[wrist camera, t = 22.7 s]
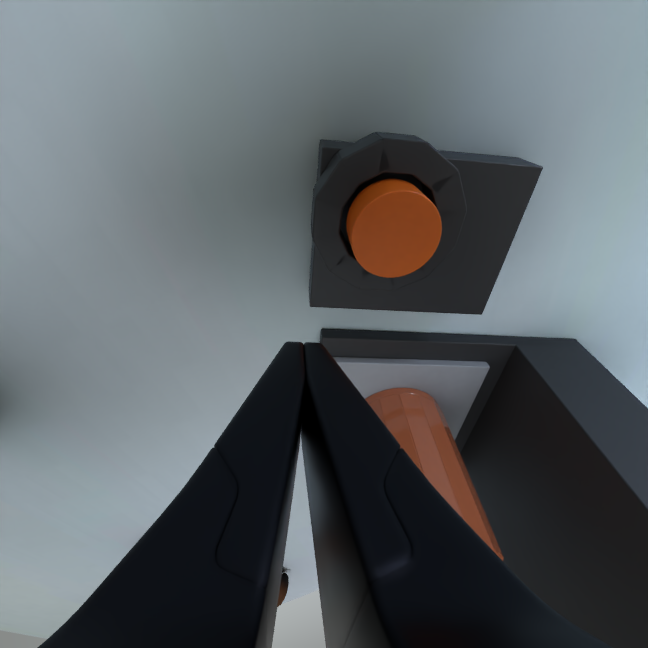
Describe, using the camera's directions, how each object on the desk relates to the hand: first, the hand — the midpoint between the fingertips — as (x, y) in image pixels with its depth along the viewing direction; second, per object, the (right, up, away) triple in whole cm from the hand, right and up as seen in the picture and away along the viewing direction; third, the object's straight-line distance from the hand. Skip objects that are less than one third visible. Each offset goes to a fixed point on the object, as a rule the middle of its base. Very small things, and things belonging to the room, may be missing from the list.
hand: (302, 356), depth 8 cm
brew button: (+3, +5, +7) cm, 9 cm away
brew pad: (+5, +6, +11) cm, 14 cm away
